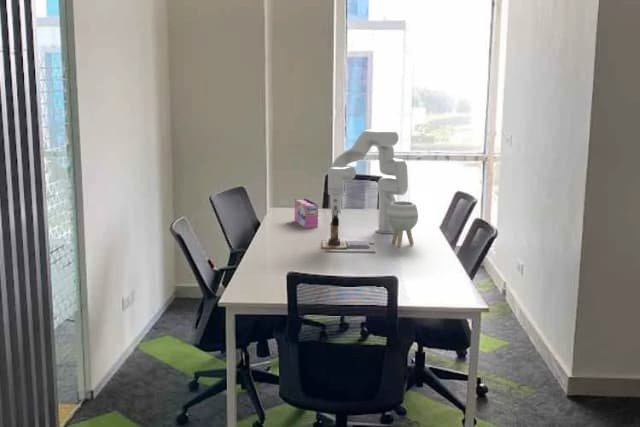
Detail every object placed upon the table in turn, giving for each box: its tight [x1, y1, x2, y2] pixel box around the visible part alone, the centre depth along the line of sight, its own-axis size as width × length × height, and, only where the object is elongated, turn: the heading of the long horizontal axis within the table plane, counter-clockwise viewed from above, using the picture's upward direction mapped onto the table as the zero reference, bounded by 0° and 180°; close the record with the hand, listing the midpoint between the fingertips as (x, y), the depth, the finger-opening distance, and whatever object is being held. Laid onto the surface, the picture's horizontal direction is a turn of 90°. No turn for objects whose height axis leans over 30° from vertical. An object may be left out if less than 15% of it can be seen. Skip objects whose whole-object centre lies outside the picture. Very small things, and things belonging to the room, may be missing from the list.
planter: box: [387, 200, 419, 248], centre depth 367 cm, size 16×16×22 cm
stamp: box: [328, 221, 341, 245], centre depth 365 cm, size 6×6×13 cm
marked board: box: [321, 239, 348, 250], centre depth 367 cm, size 13×16×1 cm
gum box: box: [294, 198, 319, 229], centre depth 420 cm, size 24×8×14 cm, turn 19°
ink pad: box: [346, 240, 370, 249], centre depth 366 cm, size 11×11×2 cm
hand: (335, 223), depth 365 cm, fingers open, 9 cm apart
